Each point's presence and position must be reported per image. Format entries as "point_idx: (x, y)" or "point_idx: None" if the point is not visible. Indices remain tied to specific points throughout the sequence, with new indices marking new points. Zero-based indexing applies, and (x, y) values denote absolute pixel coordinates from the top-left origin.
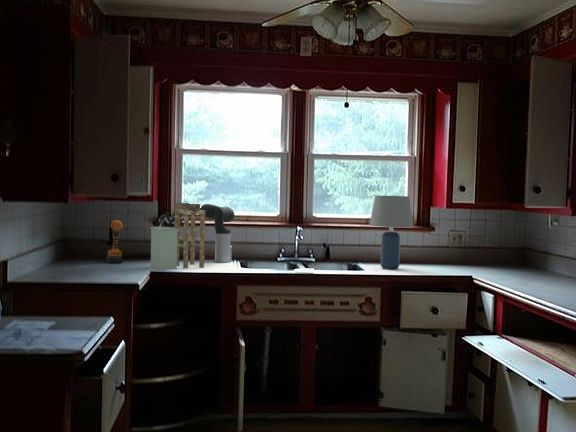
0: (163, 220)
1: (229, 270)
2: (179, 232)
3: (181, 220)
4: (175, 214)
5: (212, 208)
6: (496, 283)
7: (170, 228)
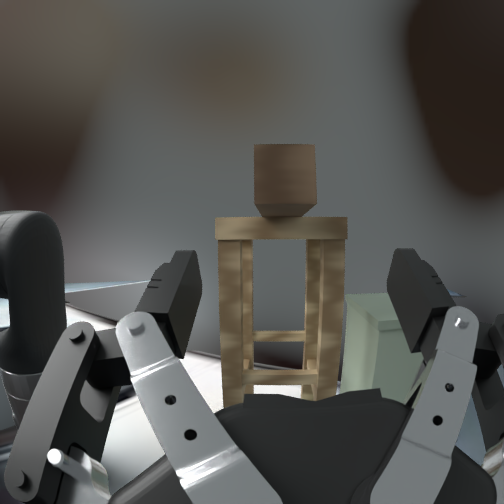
0: (478, 486)
1: (211, 378)
2: (317, 348)
3: (97, 425)
4: (343, 248)
5: None
6: (78, 290)
7: (372, 297)
